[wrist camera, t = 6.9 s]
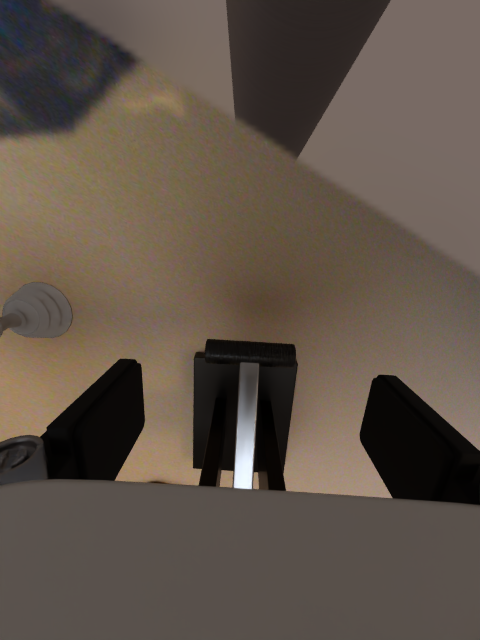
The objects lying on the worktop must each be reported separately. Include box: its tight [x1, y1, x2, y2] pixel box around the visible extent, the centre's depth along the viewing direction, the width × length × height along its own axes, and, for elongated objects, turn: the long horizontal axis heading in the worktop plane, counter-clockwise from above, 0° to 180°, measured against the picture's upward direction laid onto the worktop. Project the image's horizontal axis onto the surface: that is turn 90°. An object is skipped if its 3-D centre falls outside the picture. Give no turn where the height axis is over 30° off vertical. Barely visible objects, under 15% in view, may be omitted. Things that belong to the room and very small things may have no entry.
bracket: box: [193, 352, 298, 491], centre depth 19 cm, size 12×9×13 cm
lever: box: [205, 339, 296, 489], centre depth 15 cm, size 12×5×2 cm, turn 178°
